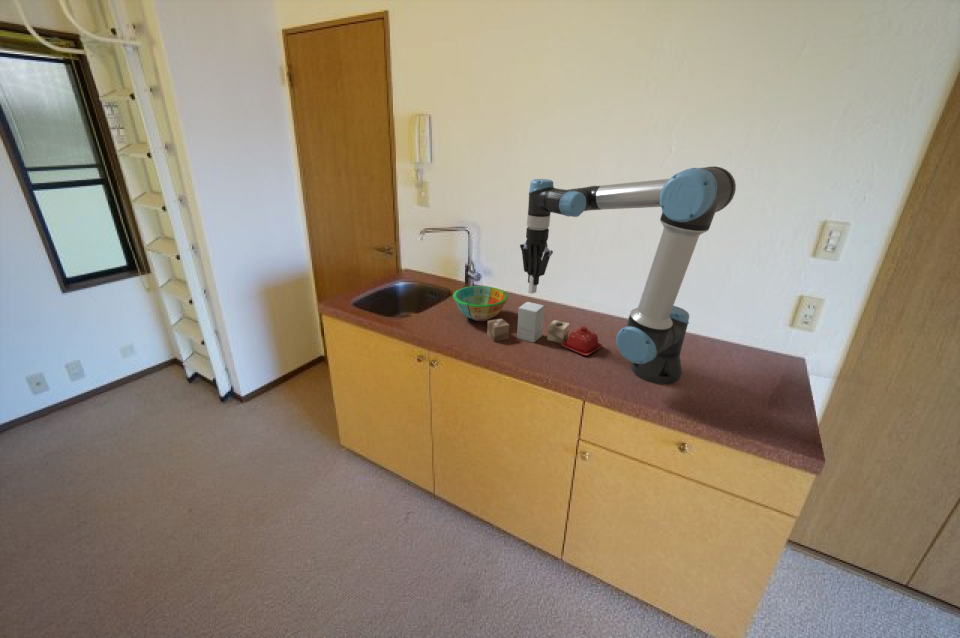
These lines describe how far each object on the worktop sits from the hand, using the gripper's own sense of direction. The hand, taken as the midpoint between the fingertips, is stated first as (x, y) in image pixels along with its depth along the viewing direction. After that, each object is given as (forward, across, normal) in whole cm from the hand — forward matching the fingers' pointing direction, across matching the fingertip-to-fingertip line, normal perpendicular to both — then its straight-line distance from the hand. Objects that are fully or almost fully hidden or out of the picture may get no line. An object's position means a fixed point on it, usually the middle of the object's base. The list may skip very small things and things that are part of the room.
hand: (532, 292), depth 152 cm
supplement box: (+18, 0, 0) cm, 18 cm away
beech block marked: (+18, -8, -7) cm, 21 cm away
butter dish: (+18, -18, -8) cm, 27 cm away
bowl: (+19, +25, +2) cm, 31 cm away
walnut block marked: (+18, +8, +9) cm, 22 cm away
